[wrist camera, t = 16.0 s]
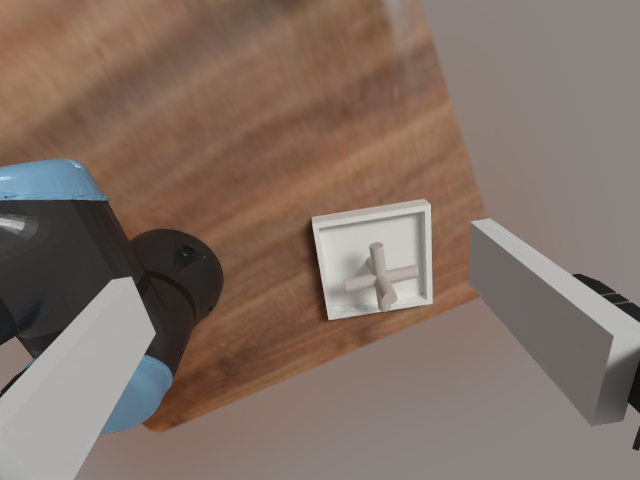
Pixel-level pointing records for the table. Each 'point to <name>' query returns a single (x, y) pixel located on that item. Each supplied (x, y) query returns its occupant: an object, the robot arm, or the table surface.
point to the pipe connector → (381, 277)
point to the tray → (353, 251)
